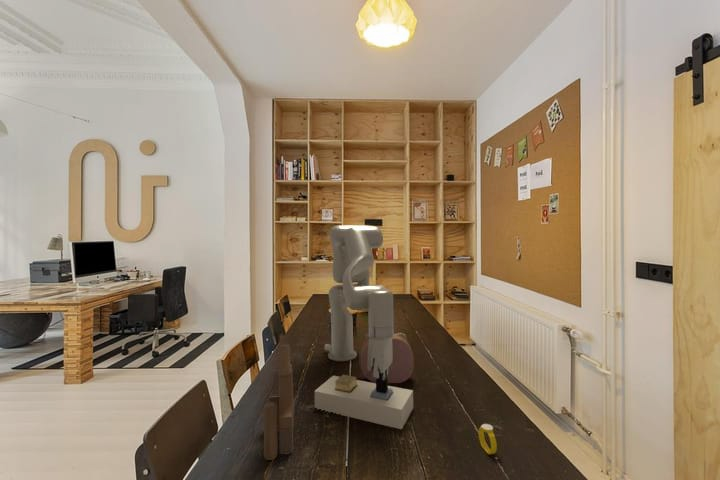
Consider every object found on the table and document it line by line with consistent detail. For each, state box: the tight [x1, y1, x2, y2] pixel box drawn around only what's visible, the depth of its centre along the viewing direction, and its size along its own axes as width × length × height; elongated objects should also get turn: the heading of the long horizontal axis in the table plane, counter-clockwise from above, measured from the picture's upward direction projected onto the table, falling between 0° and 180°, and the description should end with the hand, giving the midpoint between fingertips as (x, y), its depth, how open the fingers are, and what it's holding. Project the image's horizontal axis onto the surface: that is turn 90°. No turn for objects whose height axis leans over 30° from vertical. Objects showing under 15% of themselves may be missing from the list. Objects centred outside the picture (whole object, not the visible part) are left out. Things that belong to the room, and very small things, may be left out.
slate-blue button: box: [371, 388, 392, 401], centre depth 99 cm, size 5×5×3 cm
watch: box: [478, 423, 498, 455], centre depth 81 cm, size 6×3×6 cm, turn 10°
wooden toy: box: [262, 344, 295, 461], centre depth 86 cm, size 16×7×25 cm, turn 10°
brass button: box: [335, 374, 358, 393], centre depth 104 cm, size 5×5×3 cm
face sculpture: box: [358, 332, 414, 384], centre depth 120 cm, size 20×7×17 cm, turn 92°
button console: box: [314, 375, 414, 430], centre depth 101 cm, size 28×12×6 cm, turn 66°
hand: (381, 391), depth 99 cm, fingers closed
